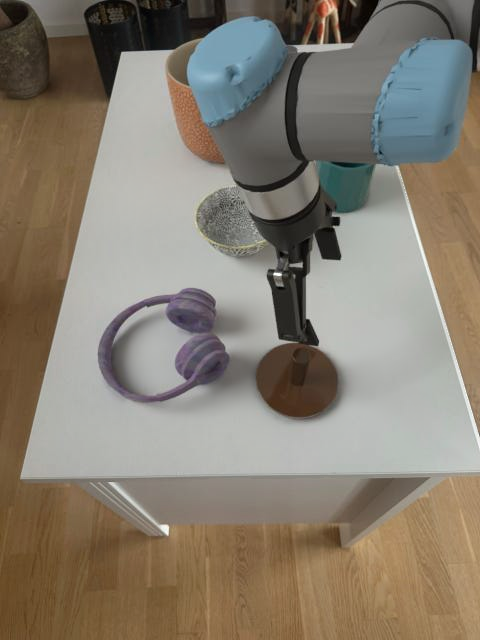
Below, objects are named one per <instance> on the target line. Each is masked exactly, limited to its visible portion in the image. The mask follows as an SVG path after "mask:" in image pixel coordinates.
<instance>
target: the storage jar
mask: <svg viewBox="0 0 480 640" xmlns="http://www.w3.org/2000/svg"><path fill="white" fill-rule="evenodd" d="M314 163H315V166H316V170H317V174H318V177H319V179H320V182H321V185H322V188H323V189H324V190H325V191H326V192H327V193H328V194H329V195H330V197H331V198H332V199H333V200H334V201H335V202H336V203H337V210H336V212H335V213H340V214H341V213H342V214H343V213H350V212H354V211H356V210H358V209H360V208H361V207H362V206H363V205H364V204H365V202H366V200H367V198H368V195H369V192H370V189H371V185H372V181H373V177H374V174H375V171H376V167H377V164H366V163H348V162H330V161H314Z"/></svg>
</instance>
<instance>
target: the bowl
mask: <svg viewBox="0 0 480 640" xmlns="http://www.w3.org/2000/svg"><path fill="white" fill-rule="evenodd" d="M194 223H195V226H196V229H197V230H198V232H199V233H200V235H201V236H202V237H203V238H204V239H205V240H206V241H207V242H208V243H209V245H210V246H212V248H214V249H215V250H216V251H218V252H220V253H222V254H223V255H226V256H230V257H236V258H237V257H248V256H251V255H254V254H257V253H258V252H260V251H262V250H263V249H264V248H265V247H266V246H268V244H270V243H269V242H268V241H266V240H265V239H264V238H263V237H262V236H261V235H260V234H259V232H258V230H257V228H256V226H255V224H254V222H253V220H252V218H251V216H250V213H249V210H248V208H247V206H246V204H245V202H244V200H243V198H242V196H241V193H240V191H239V189H238V187H237V185H236V184H231V185H226V186H222V187H220V188H217V189H214V190H213V191H211V192H209V193H208V194H207V195H205V196H204V197H203V198H202V199H201V200H200V201H199V203H198V204H197V205H196V209H195V212H194Z"/></svg>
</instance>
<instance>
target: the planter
mask: <svg viewBox="0 0 480 640" xmlns="http://www.w3.org/2000/svg"><path fill="white" fill-rule="evenodd" d="M204 38H205V37H202V38H197V39H193V40H190V41H188V42H185V43H183V44H181V45H180V46H178V47H176V48H175V49H174V50H172V51H171V53H169V54H168V56H167V58H166V60H165V62H164V69H165V77H166V82H167V88H168V93H169V98H170V103H171V107H172V112H173V116H174V120H175V123H176V127H177V130H178V134H179V136H180V138H181V140H182V142H183V144H184V145H185V147H186V148H187V149H188V150H189V152H190V153H192V154H193V155H195V156H196V157H198V158H200V159H202V160H205V161H208V162H210V163H221V164H222V163H225V164H226V162H225V160H224V158H223V156H222V154H221V152H220V151H219V149H218V147H217V145H216V143H215V141H214V139H213V138H212V136H211V134H210V132H209V130H208V128H207V126H206V125H205V124H204V123H203V121H202V119H201V113H200V110H199V108H198V105H197V103H196V100H195V98H194V95H193V93H192V90H191V88H190V85H189V83H188V78H187V66H188V62H189V59H190V57H191V55H192V54H193V53H194V52H195V49H196V46H197V45H198V44H199V43H200V42H201V41H202V40H203V39H204Z"/></svg>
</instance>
